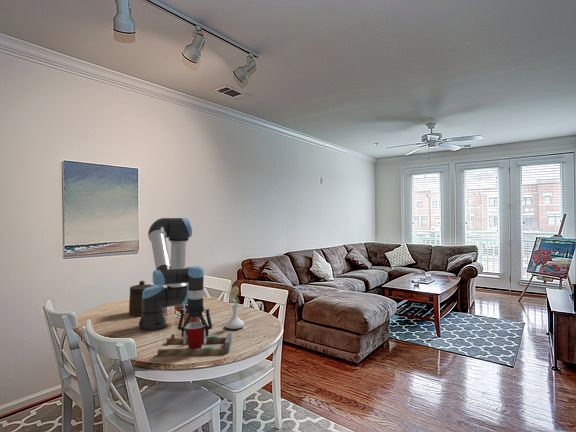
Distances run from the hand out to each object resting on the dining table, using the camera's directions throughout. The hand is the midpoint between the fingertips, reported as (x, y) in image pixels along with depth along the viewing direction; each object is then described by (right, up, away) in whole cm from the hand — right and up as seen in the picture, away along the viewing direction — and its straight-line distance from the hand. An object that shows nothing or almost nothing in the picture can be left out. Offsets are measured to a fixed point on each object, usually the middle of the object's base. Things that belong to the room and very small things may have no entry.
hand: (195, 343), depth 163 cm
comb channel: (-1, -3, 0) cm, 3 cm away
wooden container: (-52, -3, +58) cm, 78 cm away
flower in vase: (+15, -3, +31) cm, 34 cm away
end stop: (+16, -3, +1) cm, 17 cm away
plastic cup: (0, -3, 0) cm, 3 cm away
